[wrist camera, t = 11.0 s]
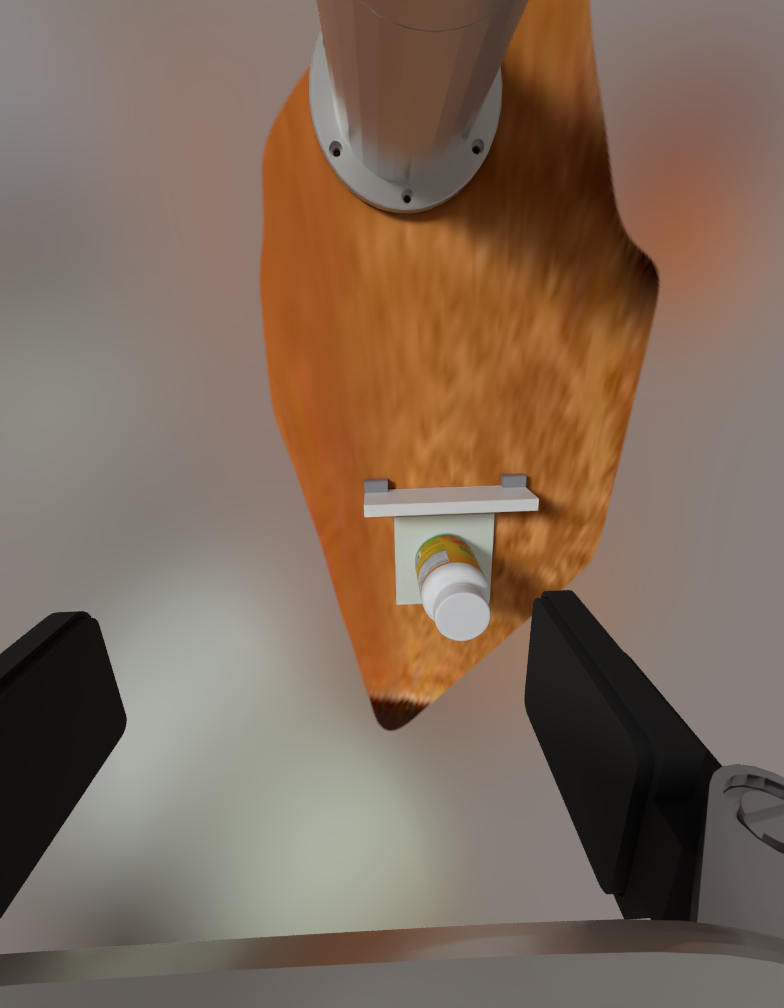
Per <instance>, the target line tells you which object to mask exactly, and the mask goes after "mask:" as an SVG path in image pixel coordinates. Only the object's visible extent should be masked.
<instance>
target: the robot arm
mask: <svg viewBox="0 0 784 1008" xmlns="http://www.w3.org/2000/svg"><path fill="white" fill-rule="evenodd" d="M527 3H528V0H317V6H318V12H319V18H320V24H321V29H320V32H319V34H318V38H317V41H316V44H315V47H314V50H313V54H312V60H311V66H310V73H309V101H310V108H311V115H312V121H313V125H314V129H315V132H316V136H317V139H318V142H319V144H320V147H321V149H322V152H323V154H324V157H325V159H326V160H327V162H328V164H329V165H330V167H331V169H332V170H333V172H334V174H335V175H336V176H337V177H338V179H339V180H340V181H341V182H342V183H343V184H344V185H345V187H346V188H347V189H348V190H349V191H351V192H352V193H353V194H354V195H356V196H357V197H358V198H359V199H361V200H362V201H364V202H366V203H368V204H370V205H372V206H374V207H376V208H378V209H381V210H385V211H389V212H392V213H408V214H412V213H417V212H422V211H428V210H430V209H432V208H435V207H437V206H439V205H442V204H444V203H445V202H447V201H448V200H450V199H451V198H452V197H454V196H455V195H457V194H458V193H459V192H460V191H461V190H462V189H463V188H464V187H465V186H466V185H467V184H468V183H469V182H470V181H471V180H472V178H473V177H474V175H475V174H476V172H477V171H478V169H479V168H480V166H481V165H482V163H483V161H484V160H485V158H486V156H487V154H488V152H489V150H490V147H491V144H492V142H493V139H494V136H495V133H496V131H497V127H498V122H499V117H500V112H501V106H502V75H501V63H502V61H503V58H504V56H505V54H506V52H507V49H508V47H509V45H510V42H511V40H512V38H513V35H514V33H515V31H516V28H517V26H518V24H519V21H520V19H521V17H522V14H523V12H524V10H525V7H526V5H527ZM474 148H475V149H477V150H478V155H477V154H474V153H473V151H472V149H474ZM335 151H339V152H340V156H338V157H334V156H333V153H334V152H335ZM404 197H409V198H410V202H409V203H405V202H404V200H403V199H404ZM525 707H526V712H527V715H528V717H529V719H530V722H531V724H532V727H533V729H534V732H535V734H536V736H537V738H538V741H539V743H540V746H541V748H542V750H543V753H544V755H545V757H546V760H547V762H548V765H549V766H550V769H551V772H552V774H553V776H554V779H555V781H556V784H557V786H558V788H559V790H560V793H561V795H562V798H563V800H564V803H565V805H566V807H567V809H568V812H569V814H570V817H571V819H572V821H573V824H574V826H575V829H576V831H577V833H578V836H579V838H580V840H581V843H582V845H583V848H584V850H585V852H586V854H587V857H588V859H589V862H590V864H591V866H592V869H593V871H594V874H595V876H596V878H597V880H598V882H599V885H600V887H601V888H602V890H603V891H604V892H605V893H606V894H613V895H614V897H615V899H616V902H617V904H618V906H619V908H620V911H621V913H622V915H623V917H624V919H617V920H590V921H560V922H534V923H505V924H504V923H503V924H485V925H468V926H449V927H432V928H415V929H398V930H382V931H381V930H380V931H361V932H344V933H325V934H308V935H292V936H277V937H260V938H244V939H227V940H212V941H196V942H181V943H164V944H148V945H135V946H134V945H132V946H117V947H101V948H85V949H71V950H58V951H57V950H56V951H42V952H27V953H13V954H0V1008H784V778H783V777H781V776H779V775H777V774H775V773H773V772H770V771H767V770H764V769H761V768H757V767H755V766H747V765H740V764H735V765H728V766H723V767H722V765H721V764H720V763H719V762H718V761H717V759H716V758H715V757H714V756H713V755H712V754H711V752H710V751H709V750H708V749H707V748H706V747H705V745H704V744H703V743H702V742H701V741H700V739H699V738H698V737H697V736H696V735H695V734H694V732H693V731H692V730H691V729H690V728H689V726H688V725H687V724H686V723H685V722H684V720H683V719H682V718H681V717H680V716H679V714H678V713H677V712H676V711H675V710H674V708H673V707H672V706H671V705H670V704H669V703H668V702H667V700H666V699H665V698H664V697H663V695H662V694H661V693H660V692H659V691H658V690H657V688H656V687H655V686H654V685H653V684H652V682H651V681H650V680H649V679H648V678H647V677H646V675H645V674H644V673H643V672H642V671H641V669H640V668H639V667H638V666H637V665H636V663H635V662H634V661H633V660H632V659H631V658H630V657H629V656H628V655H627V654H626V653H625V652H623V651H622V649H620V647H619V646H618V645H617V643H616V642H615V641H614V640H613V639H612V637H611V636H610V635H609V634H608V633H607V631H606V630H605V629H604V628H603V627H602V625H600V623H599V622H598V621H597V620H596V618H595V617H594V616H593V615H592V614H591V612H590V611H589V610H588V609H587V608H586V606H585V605H584V604H583V603H582V602H581V600H580V599H579V598H578V597H577V596H576V594H575V593H574V592H573V591H570V590H566V591H565V590H562V591H544V592H543V593H542V596H541V598H536V599H535V600H534V602H533V611H532V622H531V632H530V643H529V654H528V664H527V676H526V685H525ZM126 721H127V718H126V713H125V710H124V707H123V703H122V700H121V697H120V693H119V690H118V686H117V683H116V680H115V676H114V673H113V670H112V666H111V663H110V660H109V656H108V653H107V650H106V646H105V643H104V639H103V636H102V633H101V630H100V626H99V623H98V621H97V620H96V619H94V618H91V616H90V615H89V614H88V613H87V612H84V611H78V612H57V613H52V614H50V615H49V616H47V617H46V618H45V619H44V620H42V621H41V622H40V623H38V624H37V625H36V626H35V627H33V628H32V629H31V630H30V631H28V632H27V633H26V634H25V635H23V636H22V637H21V638H20V639H18V640H17V641H16V642H15V643H13V644H12V645H11V646H10V647H8V648H7V649H6V650H5V651H3V652H2V653H1V654H0V918H1V917H2V916H3V914H4V913H5V911H6V909H7V908H8V907H9V905H10V904H11V902H12V901H13V899H14V898H15V896H16V894H17V893H18V892H19V890H20V889H21V887H22V885H23V884H24V883H25V881H26V880H27V878H28V877H29V875H30V873H31V872H32V870H33V869H34V867H35V866H36V864H37V863H38V861H39V860H40V858H41V857H42V855H43V854H44V852H45V851H46V849H47V848H48V846H49V845H50V843H51V842H52V840H53V839H54V837H55V836H56V834H57V833H58V831H59V830H60V828H61V827H62V825H63V824H64V822H65V821H66V819H67V818H68V816H69V815H70V813H71V812H72V810H73V809H74V807H75V806H76V804H77V803H78V801H79V800H80V798H81V797H82V795H83V794H84V792H85V791H86V789H87V788H88V786H89V785H90V783H91V782H92V780H93V779H94V777H95V776H96V774H97V773H98V771H99V770H100V768H101V767H102V765H103V764H104V762H105V761H106V759H107V758H108V756H109V755H110V753H111V752H112V750H113V749H114V747H115V746H116V744H117V743H118V741H119V740H120V738H121V737H122V735H123V733H124V731H125V727H126ZM641 918H642V919H643V918H650V919H651V920H630V919H641Z"/></svg>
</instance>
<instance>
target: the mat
mask: <svg viewBox="0 0 784 1008" xmlns="http://www.w3.org/2000/svg"><path fill="white" fill-rule="evenodd" d="M494 514H495V513H494V512H486V513H460V514H434V515H408V516H394V528H395V565H396V601H397V605H405V604H422V601H421V595H420V590H419V585H418V579H417V574H416V569H415V555H416V552H417V550H418V548H419V546H420V545H421V544H422V543H423V542H424V541H425V540H426V539H427V538H429V537H431V536H433V535H435V534H439V533H451V534H455V535H457V536H459V537H461V538H462V539H464V540H465V541H466V542H467V543H468V545H469V546H470V548H471V550H472V552H473V554H474V556H475V558H476V560H477V562H478V564H479V566H480V568H481V570H482V572H483V574H484V576H485V577H486V580H487V582H488V585H489V588H490V587H491V569H492V551H493V533H494Z"/></svg>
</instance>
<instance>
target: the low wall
mask: <svg viewBox="0 0 784 1008" xmlns="http://www.w3.org/2000/svg"><path fill="white" fill-rule="evenodd" d="M526 478H527V476H526V475H525V474H501V484H500V485H497V486H469V487H442V488H415V489H388V479H364V486H365V497H364V517H382V516H408V515H434V514H460V513H486V512H512V511H538V504H539V498H538V497H536V496H535V495H534V494H533V493H532V492H531V491H530V490H528V489H527V488H526Z"/></svg>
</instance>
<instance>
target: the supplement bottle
mask: <svg viewBox="0 0 784 1008" xmlns="http://www.w3.org/2000/svg"><path fill="white" fill-rule="evenodd" d="M415 569H416V574H417V579H418V585H419V590H420V595H421V601H422V604H423V607H424V609H425V611H426V613H427V614H428V616H429V617H430V618H431V619H432V620H434V621H435V622H436V625H437V628H438V629H439V631H440V632H441V633H442V634H443V635H444V636H446V637H447V638H450V639H452V640H457V641H465V640H470V639H473V638H475V637H477V636H478V635H480V634H481V633H482V632H483V631H484V630H485V629H486V627H487V626H488V624H489V620H490V609H489V606H488V605H489V601H490V588H489V585H488V582H487V580H486V577H485V576H484V574H483V572H482V570H481V568H480V566H479V564H478V562H477V560H476V558H475V556H474V554H473V552H472V550H471V548H470V546H469V545H468V543H467V542H466V541H465V540H464V539H462V538H461V537H459V536H457V535H455V534H451V533H439V534H435V535H433V536H431V537H429V538H427V539H426V540H425V541H424V542H423V543H422V544H421V545H420V546H419V548H418V550H417V552H416V555H415Z"/></svg>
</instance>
